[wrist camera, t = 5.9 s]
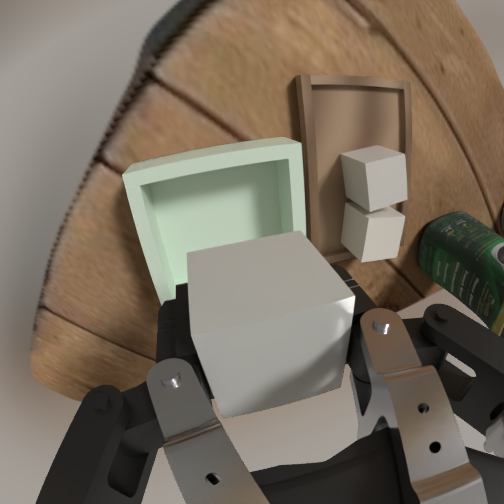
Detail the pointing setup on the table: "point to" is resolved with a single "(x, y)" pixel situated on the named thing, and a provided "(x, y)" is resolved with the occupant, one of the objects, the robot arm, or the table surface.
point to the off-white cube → (268, 321)
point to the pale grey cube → (375, 177)
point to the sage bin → (213, 201)
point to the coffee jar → (467, 264)
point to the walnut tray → (346, 145)
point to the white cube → (371, 232)
